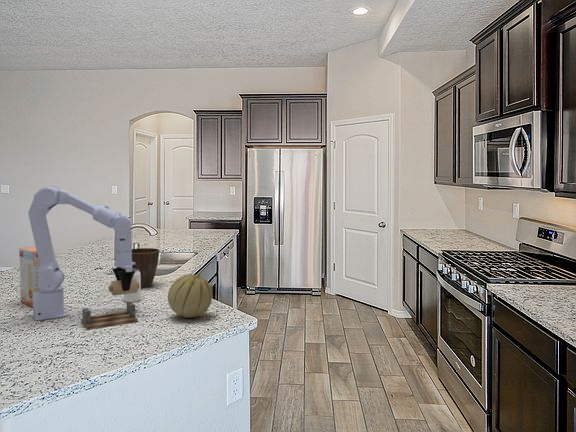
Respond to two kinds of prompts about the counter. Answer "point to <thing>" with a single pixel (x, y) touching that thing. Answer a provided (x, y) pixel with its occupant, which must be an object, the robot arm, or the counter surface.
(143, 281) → the plant pot
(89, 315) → the cradle
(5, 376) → the counter surface
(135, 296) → the can
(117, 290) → the bottle
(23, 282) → the cracker box
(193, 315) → the cantaloupe
